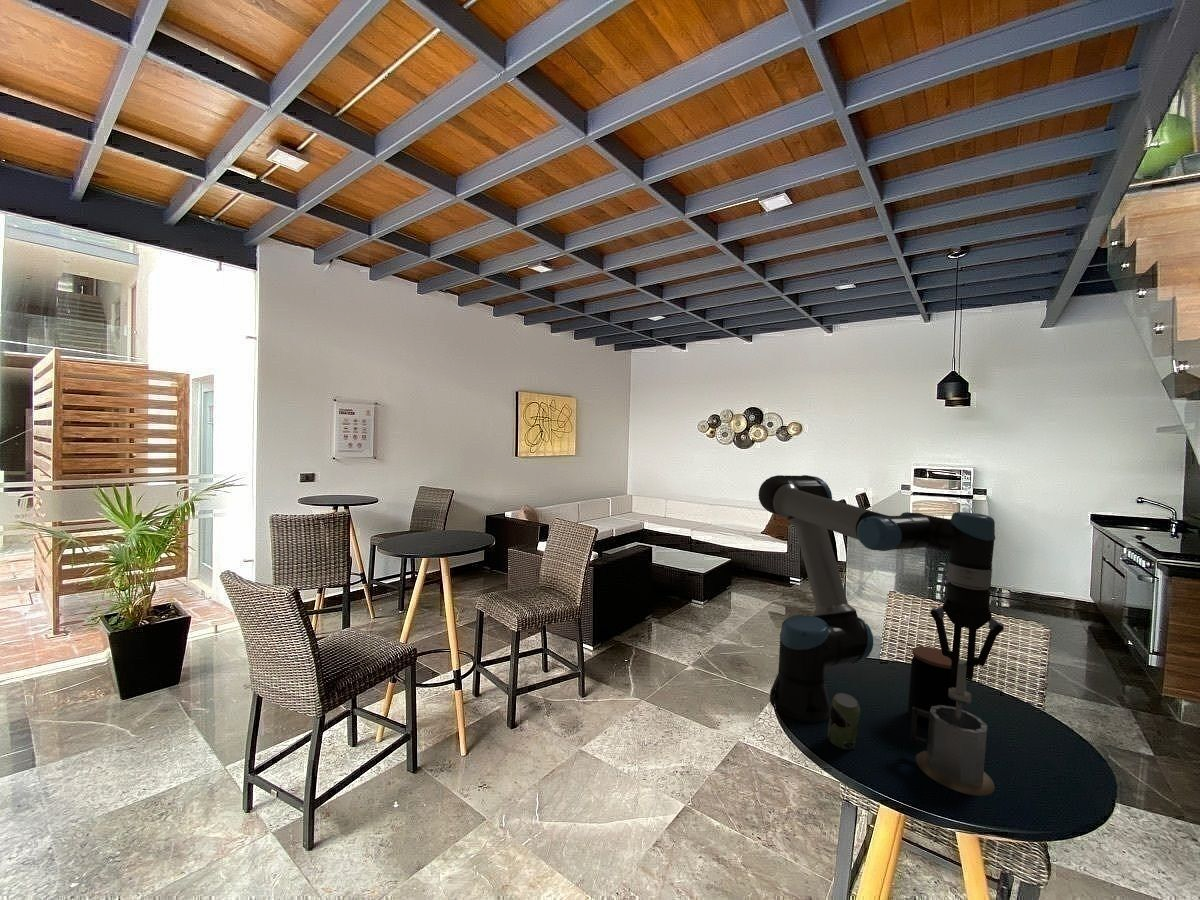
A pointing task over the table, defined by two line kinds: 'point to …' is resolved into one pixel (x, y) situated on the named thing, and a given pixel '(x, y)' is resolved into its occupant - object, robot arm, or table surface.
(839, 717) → the beverage can
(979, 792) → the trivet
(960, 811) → the table surface
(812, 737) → the table surface
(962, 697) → the plunger
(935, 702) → the coffee jar
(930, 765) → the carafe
